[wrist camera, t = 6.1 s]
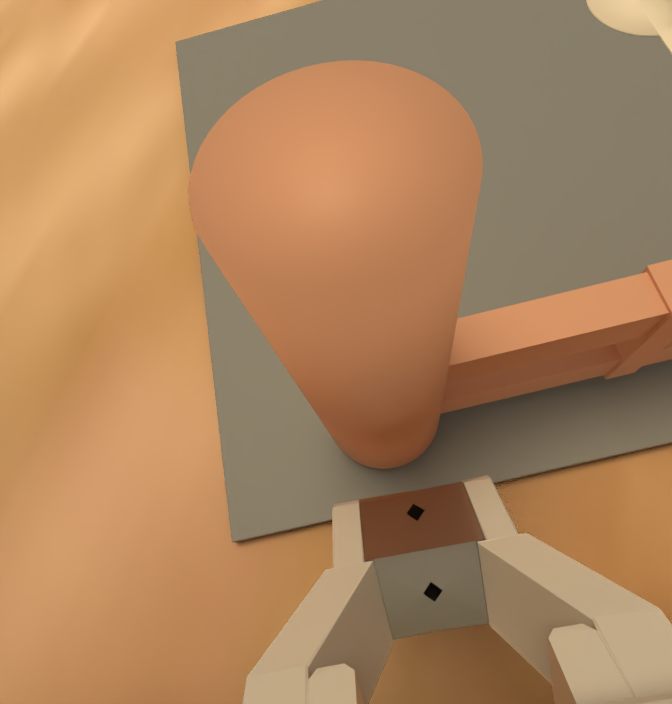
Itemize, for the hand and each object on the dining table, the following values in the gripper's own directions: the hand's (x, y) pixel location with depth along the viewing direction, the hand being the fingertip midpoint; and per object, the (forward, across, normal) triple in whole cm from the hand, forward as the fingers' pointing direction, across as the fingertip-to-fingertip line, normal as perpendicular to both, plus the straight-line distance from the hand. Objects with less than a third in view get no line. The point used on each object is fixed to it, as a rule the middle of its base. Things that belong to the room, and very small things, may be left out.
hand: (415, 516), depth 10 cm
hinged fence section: (+5, -5, 0) cm, 8 cm away
